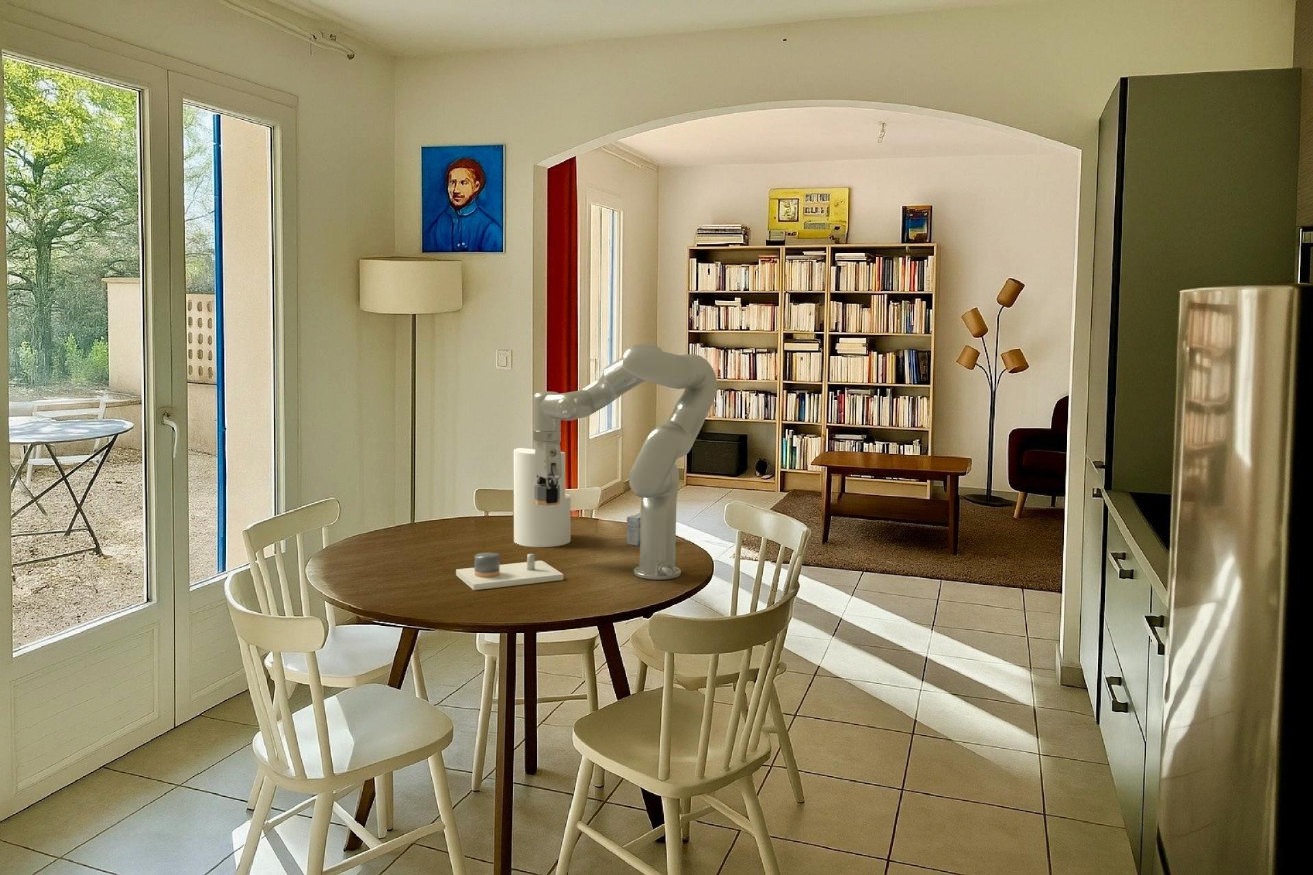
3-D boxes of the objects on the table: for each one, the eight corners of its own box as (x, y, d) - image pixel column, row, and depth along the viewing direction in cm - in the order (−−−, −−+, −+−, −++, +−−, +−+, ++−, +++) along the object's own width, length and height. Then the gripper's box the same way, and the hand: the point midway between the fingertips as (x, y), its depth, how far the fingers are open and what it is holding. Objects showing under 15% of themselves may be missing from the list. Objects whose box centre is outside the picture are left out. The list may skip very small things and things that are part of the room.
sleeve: (562, 504, 271) (562, 486, 271) (540, 506, 269) (540, 488, 268) (554, 500, 277) (554, 482, 277) (532, 502, 274) (532, 484, 274)
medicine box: (637, 546, 295) (638, 518, 294) (626, 544, 298) (626, 516, 297) (653, 542, 301) (654, 514, 300) (642, 539, 304) (642, 512, 303)
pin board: (563, 579, 256) (563, 555, 256) (473, 590, 246) (473, 564, 245) (541, 565, 270) (541, 542, 270) (456, 574, 260) (455, 550, 259)
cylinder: (547, 549, 289) (547, 455, 286) (502, 542, 298) (501, 450, 295) (581, 539, 304) (582, 449, 301) (537, 532, 313) (537, 444, 310)
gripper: (571, 439, 265) (571, 505, 267) (549, 432, 280) (549, 494, 282) (544, 440, 261) (544, 507, 263) (524, 433, 277) (524, 496, 279)
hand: (547, 500), depth 273 cm, fingers closed on sleeve, 6 cm apart
